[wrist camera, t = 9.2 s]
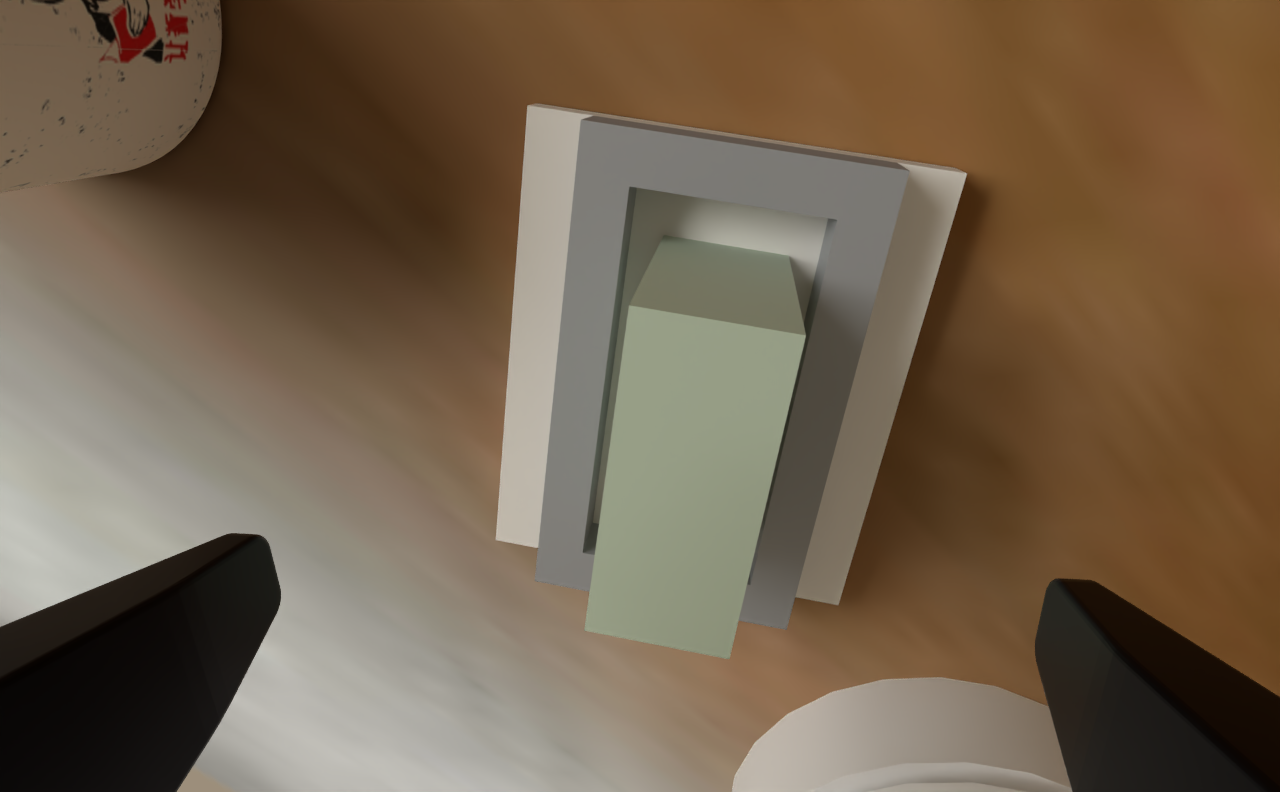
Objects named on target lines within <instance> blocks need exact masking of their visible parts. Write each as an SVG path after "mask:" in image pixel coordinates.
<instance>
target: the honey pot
mask: <svg viewBox="0 0 1280 792" xmlns="http://www.w3.org/2000/svg"><path fill="white" fill-rule="evenodd" d="M732 792H1072V789H1071V786H1070V782H1069V779H1068V776H1067V772H1066V768H1065V765H1064V761H1063V757H1062V754H1061V750H1060V747H1059V743H1058V739H1057V736H1056V732H1055V728H1054V725H1053V721H1052V717H1051V714H1050V710H1049V707H1048V706H1046V705H1043V704H1041V703H1038V702H1036V701H1033V700H1031V699H1028V698H1025V697H1023V696H1020V695H1018V694H1015V693H1013V692H1010V691H1007V690H1005V689H1002V688H1000V687H997V686H992V685H986V684H979V683H973V682H967V681H961V680H954V679H948V678H942V677H934V678H908V679H884V680H879V681H875V682H871V683H867V684H863V685H859V686H855V687H851V688H847V689H843V690H838V691H834V692H831V693H829V694H827V695H825V696H823V697H821V698H819V699H817V700H815V701H813V702H811V703H809V704H807V705H805V706H803V707H801V708H799V709H797V710H795V711H793V712H791V713H789V714H787V715H786V716H785V717H784V718H782V719H781V720H780V721H779V722H778V723H777V724H776V725H774V726H773V727H772V728H771V729H770V730H769V731H768V732H766V733H765V734H764V735H763V736H762V737H761V738H759V739H758V740H757V741H756V742H755V743H754V745H753V746H752V748H751V750H750V751H749V753H748V755H747V756H746V758H745V760H744V761H743V763H742V764H741V766H740V768H739V769H738V771H737V773H736V774H735V777H734V782H733V787H732Z"/></svg>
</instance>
